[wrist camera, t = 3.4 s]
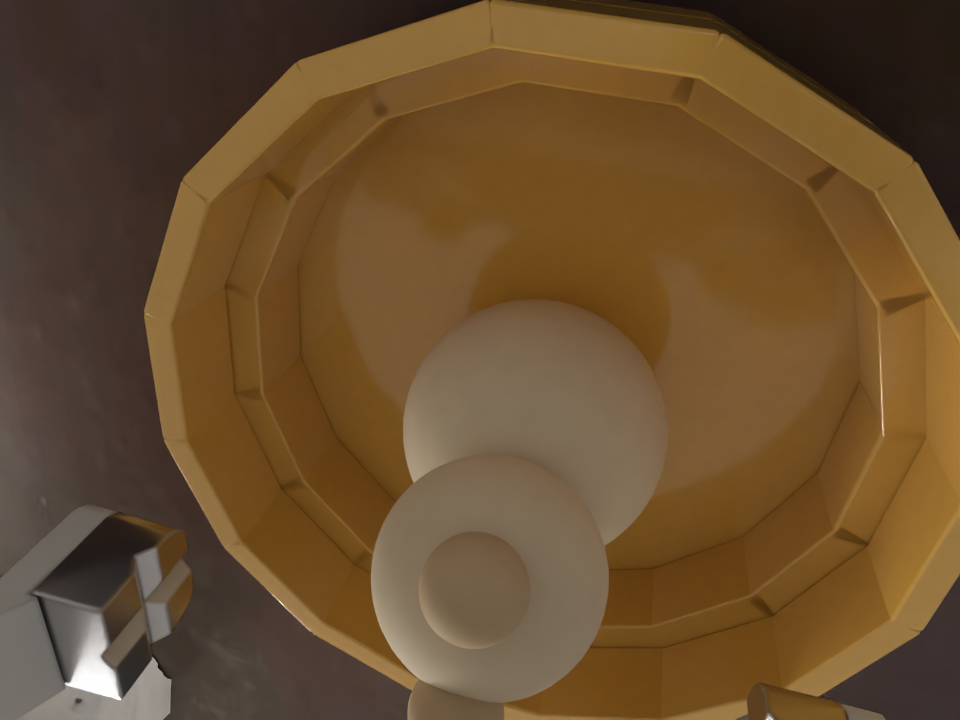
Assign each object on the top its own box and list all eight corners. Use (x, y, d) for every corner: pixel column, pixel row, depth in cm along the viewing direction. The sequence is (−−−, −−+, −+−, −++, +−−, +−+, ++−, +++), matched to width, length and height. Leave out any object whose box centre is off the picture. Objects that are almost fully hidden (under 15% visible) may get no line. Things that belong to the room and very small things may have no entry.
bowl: (1079, 59, 12) (1272, 106, 8) (781, 645, 20) (805, 811, 16) (243, -54, 14) (82, -59, 10) (276, 511, 22) (191, 627, 18)
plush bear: (696, 286, 15) (716, 620, 7) (640, 478, 17) (612, 865, 10) (455, 239, 15) (250, 496, 8) (436, 430, 18) (271, 755, 11)
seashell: (122, 571, 32) (-107, 612, 26) (173, 591, 28) (-79, 643, 22) (119, 754, 31) (-114, 838, 25) (171, 798, 28) (-87, 907, 22)
